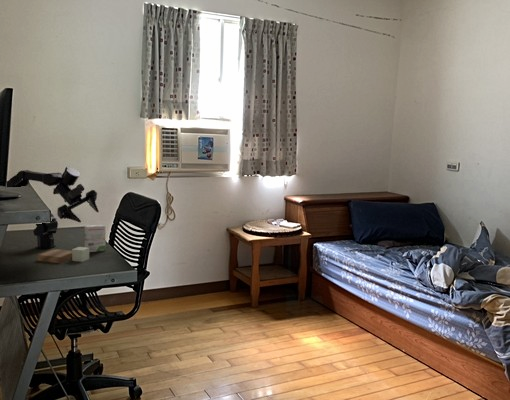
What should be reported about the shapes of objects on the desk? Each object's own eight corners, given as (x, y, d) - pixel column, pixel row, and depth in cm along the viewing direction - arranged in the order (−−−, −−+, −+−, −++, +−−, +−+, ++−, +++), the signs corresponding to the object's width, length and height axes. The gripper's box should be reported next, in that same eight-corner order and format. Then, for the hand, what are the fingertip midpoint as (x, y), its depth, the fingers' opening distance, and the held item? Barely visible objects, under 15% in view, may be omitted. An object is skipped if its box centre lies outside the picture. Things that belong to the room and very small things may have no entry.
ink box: (103, 248, 230) (103, 224, 228) (105, 251, 225) (105, 226, 224) (84, 250, 225) (84, 225, 224) (86, 252, 221) (86, 227, 220)
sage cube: (72, 260, 207) (72, 249, 207) (79, 258, 212) (78, 246, 212) (82, 262, 206) (82, 250, 206) (89, 259, 211) (89, 247, 210)
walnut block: (37, 261, 206) (37, 254, 205) (54, 255, 216) (54, 248, 216) (60, 264, 203) (60, 257, 203) (76, 257, 214) (76, 251, 213)
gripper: (48, 191, 207) (71, 216, 203) (86, 173, 218) (108, 196, 215) (48, 207, 215) (70, 231, 211) (85, 188, 227) (106, 210, 223)
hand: (89, 216), depth 215 cm, fingers open, 9 cm apart
